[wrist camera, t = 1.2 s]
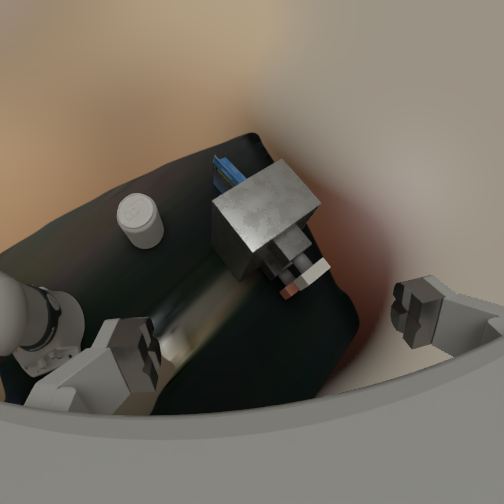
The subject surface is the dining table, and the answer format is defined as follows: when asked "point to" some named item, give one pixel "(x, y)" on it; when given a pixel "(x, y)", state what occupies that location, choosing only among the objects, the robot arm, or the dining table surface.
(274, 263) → the box
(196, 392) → the dining table surface
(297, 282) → the white key
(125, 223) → the beverage can
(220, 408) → the dining table surface
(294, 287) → the brown block
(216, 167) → the label tape box
